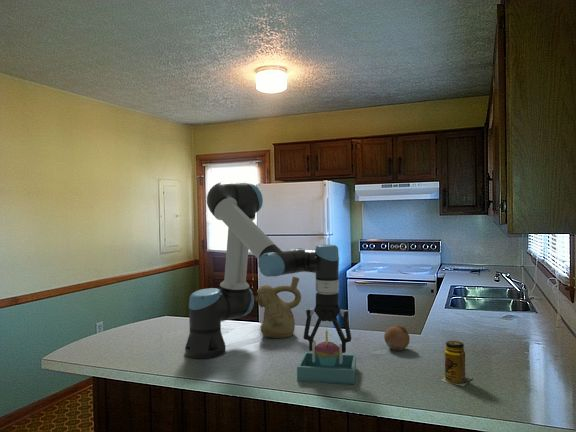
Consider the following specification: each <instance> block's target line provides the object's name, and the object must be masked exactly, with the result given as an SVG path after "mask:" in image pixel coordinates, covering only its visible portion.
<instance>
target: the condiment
mask: <svg viewBox="0 0 576 432" xmlns="http://www.w3.org/2000/svg"><path fill="white" fill-rule="evenodd" d="M472 379H473V377H471V376H470V377H469V376H466V351H465V344H464V343H463V342H462V341H458V340H448V341H446V342H445V350H444V377H443V378H442V379H440V380H439V381H440V382H444V383H448V384H451V385H455V386H462V387H465V386H466V385H467V384H468V383H470V381H471V380H472Z"/></svg>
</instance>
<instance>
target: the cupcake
mask: <svg viewBox="0 0 576 432" xmlns="http://www.w3.org/2000/svg"><path fill="white" fill-rule="evenodd" d="M328 334H329V333H328V330H327V328H326V330H325V341H322V342H319V343H316V347H315V353H316V354H317V355H318V358H319V360H320V364H321V365H322V366H327V367H330V366H334V365H335V363H336V359H337V357H338V355H339V354H340V353H339V345H338V344H336V343H334V342H332V341H328V339H329V337H328Z"/></svg>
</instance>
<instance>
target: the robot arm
mask: <svg viewBox="0 0 576 432" xmlns="http://www.w3.org/2000/svg"><path fill="white" fill-rule="evenodd" d="M263 201H264V199H263V193H262V191H261V190H260V189H259V187H258V186H257V185H255V184H253V183H248V182H231V181H230V182H227V181H221V182H218V183H216V184H214V185H213V186H212V187H211V188H210V189H209V191H208V192H207V195H206V205H207V208H208V209H209V211H210V213H211V215H212V216H213V217H214V218H215V219H216V220H219V221H222V223H224V224H225V226H227V227H228V228H227V242H226V253H225V254H226V255H225V266H224V280H222V281H221V282H220V284H219V288H215V287H210V288H203V289H202V288H201V289H198V290H195V291H194V292H192V293H191V294H190V296H189V302H188V309H189V312H188V313H189V315H188V316H189V318H188V319H189V333H188V338H187V339H186V344H185V346H184V354H185V356H186V357H188V358H191V359H211V358H212V359H213V358H216V357H220V356H222V355H224V354H225V353H226V347H227V346H226V342H225V339H224V337H223V334H222V330H221V328H222V324H221V323H222V322H225V321H229V320H230V321H231V320H234V319H240V318H242V317H244V316H247V315H249V314H250V313H251V312H252V310H253V308H254V305H255V296H254V293H253V291H252V289H251V288H250V284H249V283H248V282H247V271H248V260H249V258H248V257H249V251H250V252H251V254H252V255H253V256H254V257H255V258H256V259H257V261H258V263H257V265H258V268H259V272H260V273H261V274H262V275H263V276H264V277H268V278H269V277H275V278H276V277H279V276H284V275H289V274H297V273H304V272H305V273H314V274H315V292H316V293H315V307H314V308H309V307H308V308H307V309H306V311H305V313H306V320H305V326H304V330H303V331H304V332H303V339H304V340H306V341H308V343H309V344H308V349H309V350H308V351H309V352H311V353H312V362H315V360H316V353H315V347H316V346H317V341H316V339H314V338H315V336H316V334H317V332H318V330H319V327H320V325H321V322H329V323H331V322H332V324H333V326H334V328H335V330H336V333H337V335H338V337H339V340H340V341H339V343H338V344H339V345H338V346H339V353H340V354H339V364H342V361H343V355H342V354H345V353H346V352H347V351H346V350H347V343H349V342H351V341H352V332H351V328H350V323H349V310H348V309H341V308H340V294H339V292H340V291H339V290H340V289H339V288H340V283H339V282H340V278H339V266H340V265H339V263H340V256H339V247H338V245H335V244H317V245H316V246H315V249H304V248H291V249H290V250H282V249H281V248H279V247H278V245H276V243H274V241H272V240H271V239H270V237H269V236H268V235H267V234H266V233H264V231H263V230H262V229H261V228H260V227H259V226H258V225H257V224H256V223H255V222H254V220H255V219H256V213H258V212H260V210H261V209H262V207H263V203H264V202H263ZM314 313H315V314H316V315H317V317H318V318H317V320H316V322H315V324H314V327H313V329H312V332H311V334H310V329H311V322H312V316H313V315H314ZM339 314H341V317H342V318H343V324H344V329H345V330H344V331H345V334H346V336H345V334H344V332H343V329H342V327H341V325H340V322H339V320H338V318H337V317H339ZM309 334H310V335H309Z"/></svg>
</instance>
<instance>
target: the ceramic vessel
mask: <svg viewBox="0 0 576 432" xmlns="http://www.w3.org/2000/svg"><path fill="white" fill-rule="evenodd" d="M299 281H300V278H299V277H297V276H292V279H291V284H290V285H279V286H274V287H272V286H271V285H268V284H263V285H261V286H260V287H258V289H257V291H256V293H257V295H256V297H255V301H256V302H257V305H258V306H259V307H260V308H264V311H263V319H262V323H261V326H260V332H261V333H262V335H264V337H265V338H271V339H286V338H290V337H291V336H292V335H294V333H295V329H296V328H295V327H296V323H295V317H294V314H293V311H292V309H295V308H296V307H298V306H299V305H300V303H301V300H302V294H301V291H300V290H299V289H298V288H297V287H298V284H299ZM282 292H289V293H291V294H293V295H294V299H293V300H292V301H289V302H287V301H286V302H285V301H284V300H283V299H281V297H279V295H278V294H279V293H282Z"/></svg>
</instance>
